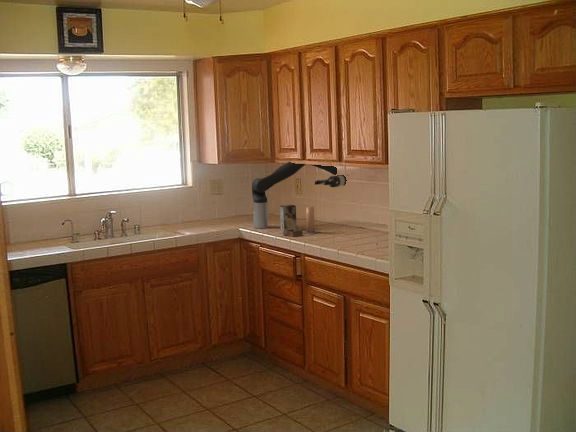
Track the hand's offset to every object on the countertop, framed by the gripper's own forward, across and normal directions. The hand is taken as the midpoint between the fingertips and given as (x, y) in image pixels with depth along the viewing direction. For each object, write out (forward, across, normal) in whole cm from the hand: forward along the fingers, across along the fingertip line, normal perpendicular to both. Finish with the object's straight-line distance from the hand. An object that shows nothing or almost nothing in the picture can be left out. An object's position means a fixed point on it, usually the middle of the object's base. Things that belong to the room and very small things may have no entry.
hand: (319, 183), depth 439 cm
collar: (+28, +2, +30) cm, 41 cm away
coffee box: (+14, -16, +30) cm, 37 cm away
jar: (+15, +5, +30) cm, 33 cm away
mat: (+15, +5, +30) cm, 34 cm away
